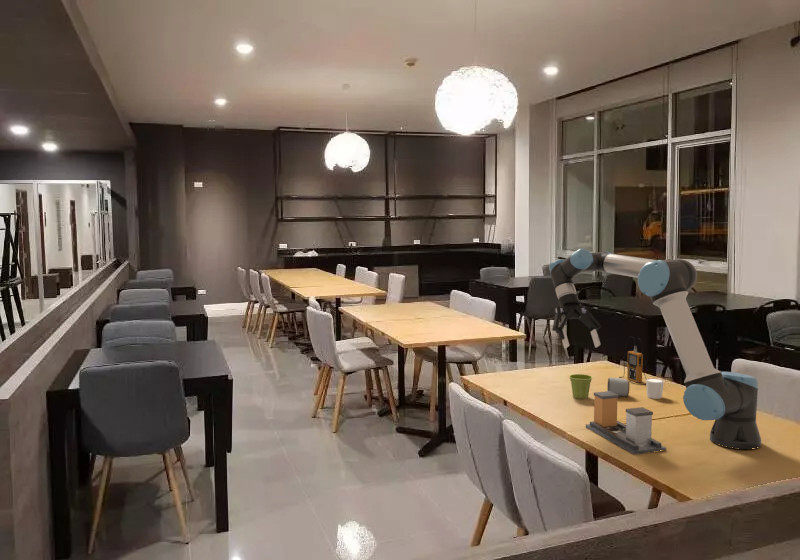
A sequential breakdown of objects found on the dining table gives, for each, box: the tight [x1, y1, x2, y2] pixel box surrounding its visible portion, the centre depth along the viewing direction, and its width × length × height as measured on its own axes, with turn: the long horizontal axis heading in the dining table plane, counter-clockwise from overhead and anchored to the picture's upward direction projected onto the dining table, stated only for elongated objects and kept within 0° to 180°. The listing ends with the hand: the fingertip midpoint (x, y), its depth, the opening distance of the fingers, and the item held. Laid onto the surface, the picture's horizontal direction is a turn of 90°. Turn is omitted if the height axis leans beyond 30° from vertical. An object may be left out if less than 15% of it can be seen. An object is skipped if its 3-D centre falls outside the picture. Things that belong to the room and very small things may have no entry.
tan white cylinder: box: [645, 378, 665, 400], centre depth 272 cm, size 7×7×7 cm
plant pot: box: [568, 373, 593, 400], centre depth 272 cm, size 9×9×9 cm
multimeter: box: [618, 336, 648, 386], centre depth 297 cm, size 15×10×20 cm
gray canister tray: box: [585, 406, 667, 455], centre depth 222 cm, size 28×12×12 cm, turn 16°
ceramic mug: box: [606, 377, 630, 398], centre depth 275 cm, size 11×8×8 cm
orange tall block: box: [593, 390, 619, 427], centre depth 232 cm, size 5×6×11 cm
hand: (582, 346), depth 249 cm, fingers open, 13 cm apart
